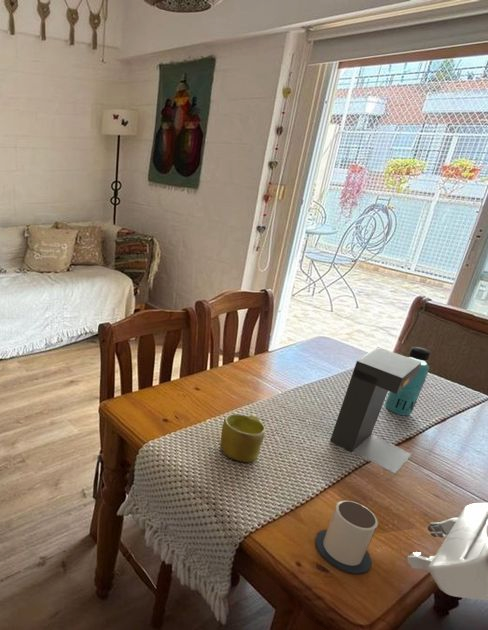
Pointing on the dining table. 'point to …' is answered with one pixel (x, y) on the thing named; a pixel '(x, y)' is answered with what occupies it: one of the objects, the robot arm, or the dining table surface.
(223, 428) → the mug
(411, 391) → the beverage bottle
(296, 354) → the dining table surface
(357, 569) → the coaster
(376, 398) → the coffee maker
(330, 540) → the coffee cup
